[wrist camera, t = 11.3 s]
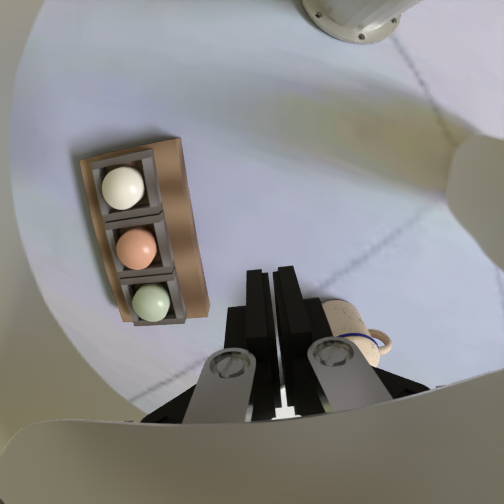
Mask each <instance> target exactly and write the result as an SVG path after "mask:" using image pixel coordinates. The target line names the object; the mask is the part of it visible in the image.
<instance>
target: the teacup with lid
mask: <svg viewBox="0 0 504 504" xmlns="http://www.w3.org/2000/svg"><path fill="white" fill-rule="evenodd" d="M322 306H323V309H324V311H325V314H326V317H327V320H328V322H329V325H330V328H331V330H332V333H333V336H334V337H342V338H346V339H348V340H350V341H352V342H354V343H355V344H356V345H357V347H358V348H359V349H360V351H361V352H362V354H363V355H364V357H365V358H366V360H367V361H368V363H369V364H370V365H371V366H374V367H377V365H378V362H379V357H380V355H384V354H386V353H388V352H389V351H390V349H391V346H392V342H391V339H390V338H389V337H388V336H387V335H386V334H385V333H383V332H381V331H379V330H375V329H367V327H366V325H365V323H364V321H363V320H362V318H361V316H360V314H359V312H358V310H357V309H356V308H355V307H354V306H353V305H352V304H350V303H348V302H346V301H342V300H331V301H327V302H324V303H322ZM372 337H373V338H377V339H379V340H381V341H382V342H383V343H384V344H385V346H382V347H378V345H377V343H376V342H375V340H374V339H372Z"/></svg>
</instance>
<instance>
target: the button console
mask: <svg viewBox="0 0 504 504" xmlns="http://www.w3.org/2000/svg"><path fill="white" fill-rule="evenodd" d="M126 165H130V166H134V167H137V168H138V169H139V170H141V172H142V173H143V174H144V176H145V181H146V187H147V188H146V192H145V194H144V196H143V198H142V199H141V200H140V201H138V202H137V203H136V204H134V205H133V206H132V207H130V208H128V209H124V210H119V209H115V208H113V207H111V206H110V205H109V204H108V203H107V202H106V200H105V199H104V196H103V193H102V184H103V180H104V178H105V177H106V175H107V174H108V173H109V172H111V171H112V170H114V169H117V168H119V167H122V166H126ZM80 166H81V171H82V177H83V182H84V186H85V191H86V196H87V200H88V205H89V209H90V213H91V218H92V222H93V226H94V230H95V233H96V237H97V241H98V245H99V248H100V252H101V255H102V259H103V262H104V266H105V269H106V272H107V276H108V279H109V282H110V285H111V288H112V291H113V294H114V297H115V300H116V303H117V306H118V309H119V312H120V315H121V318H122V320H123V322H133V323H134V326H150V325H168V324H184V323H185V320H186V319H187V318H201V317H208V312H209V307H210V302H209V297H208V292H207V287H206V282H205V277H204V272H203V267H202V262H201V257H200V251H199V246H198V240H197V235H196V229H195V224H194V218H193V212H192V206H191V200H190V194H189V188H188V182H187V176H186V169H185V163H184V156H183V149H182V142H181V138H177V139H172V140H166V141H161V142H156V143H151V144H146V145H141V146H136V147H132V148H127V149H123V150H118V151H114V152H110V153H106V154H102V155H98V156H94V157H90V158H87V159H83V160H80ZM134 226H145V227H147V228H149V229H151V230H152V231H153V232H154V233H155V235H156V236H157V241H158V245H159V249H158V252H157V254H156V255H155V257H154V259H153V260H152V262H151V263H150V264H149V265H148V266H147V267H146V268H144V269H141V270H134V269H130V268H128V267H127V266H125V265H124V264H123V263H122V262H121V261H120V259H119V258H118V255H117V251H116V246H117V242H118V240H119V239H120V238H121V237H122V236H123V235H124V234H125V233H126V232H127V231H128V230H129V229H130V228H132V227H134ZM152 282H160V283H162V284H164V285H165V286H166V287H167V288H168V289H169V291H170V295H171V299H172V300H171V304H170V306H169V309H168V312H167V314H166V316H165V317H164V318H163V319H162V320H160V321H156V322H150V321H146V320H144V319H142V318H141V317H139V316H138V315H137V314H136V312H135V311H134V309H133V305H132V300H133V297H134V296H135V294H136V292H137V290H138V289H139V287H140V286H141V285H142V284H143V283H152Z"/></svg>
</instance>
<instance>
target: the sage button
mask: <svg viewBox="0 0 504 504" xmlns="http://www.w3.org/2000/svg"><path fill="white" fill-rule="evenodd" d="M171 300H172V299H171V295H170V291H169V289H168V288H167V287H166V286H165V285H164V284H162V283H160V282H152V283H143V284H142V285H141V286H140V287H139V289H138V290H137V292H136V294H135V296H134V297H133V300H132V305H133V309H134V311H135V312H136V314H137V315H138V316H139V317H141V318H142V319H144V320H146V321H150V322H156V321H160V320H162V319H163V318H164V317H165V316H166V314H167V312H168V309H169V306H170V304H171Z"/></svg>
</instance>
